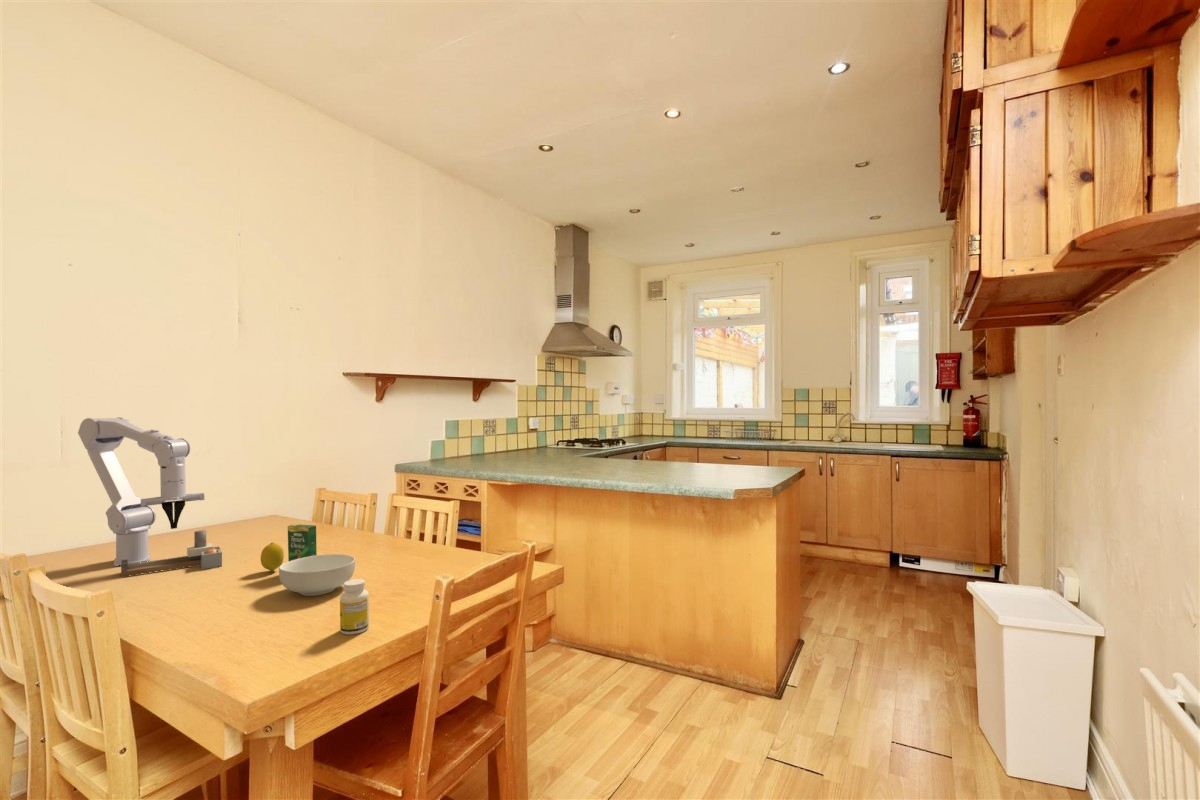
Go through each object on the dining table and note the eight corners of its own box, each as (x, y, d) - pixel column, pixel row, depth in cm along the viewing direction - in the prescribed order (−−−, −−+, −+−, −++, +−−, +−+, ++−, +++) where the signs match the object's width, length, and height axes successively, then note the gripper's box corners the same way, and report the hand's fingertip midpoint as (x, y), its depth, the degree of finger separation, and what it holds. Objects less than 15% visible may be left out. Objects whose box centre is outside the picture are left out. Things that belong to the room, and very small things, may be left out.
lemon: (273, 575, 148) (273, 545, 148) (255, 574, 150) (255, 544, 150) (288, 569, 154) (288, 540, 154) (271, 568, 155) (271, 539, 155)
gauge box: (200, 565, 157) (200, 551, 157) (220, 562, 160) (220, 549, 160) (202, 569, 154) (202, 555, 154) (221, 566, 157) (221, 552, 157)
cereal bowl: (370, 583, 141) (370, 556, 141) (317, 606, 126) (317, 575, 126) (318, 577, 147) (318, 550, 147) (262, 598, 131) (262, 568, 131)
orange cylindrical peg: (205, 562, 157) (205, 549, 157) (216, 560, 159) (216, 548, 159) (206, 564, 155) (206, 551, 155) (217, 562, 157) (217, 550, 157)
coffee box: (286, 573, 150) (286, 525, 150) (296, 570, 153) (296, 522, 153) (308, 576, 147) (308, 527, 147) (317, 573, 150) (317, 525, 150)
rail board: (121, 572, 151) (121, 559, 151) (218, 557, 165) (218, 546, 165) (121, 577, 147) (121, 564, 147) (220, 562, 161) (220, 550, 161)
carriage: (187, 553, 160) (187, 531, 160) (212, 549, 164) (212, 528, 164) (188, 557, 156) (188, 534, 156) (213, 553, 160) (213, 531, 160)
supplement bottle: (345, 625, 115) (345, 578, 115) (372, 624, 115) (372, 577, 115) (335, 636, 109) (335, 586, 109) (363, 634, 110) (363, 585, 110)
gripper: (140, 485, 152) (141, 534, 151) (204, 479, 161) (205, 526, 161) (140, 482, 157) (141, 530, 157) (203, 477, 166) (203, 522, 166)
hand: (173, 528), depth 159 cm, fingers closed
